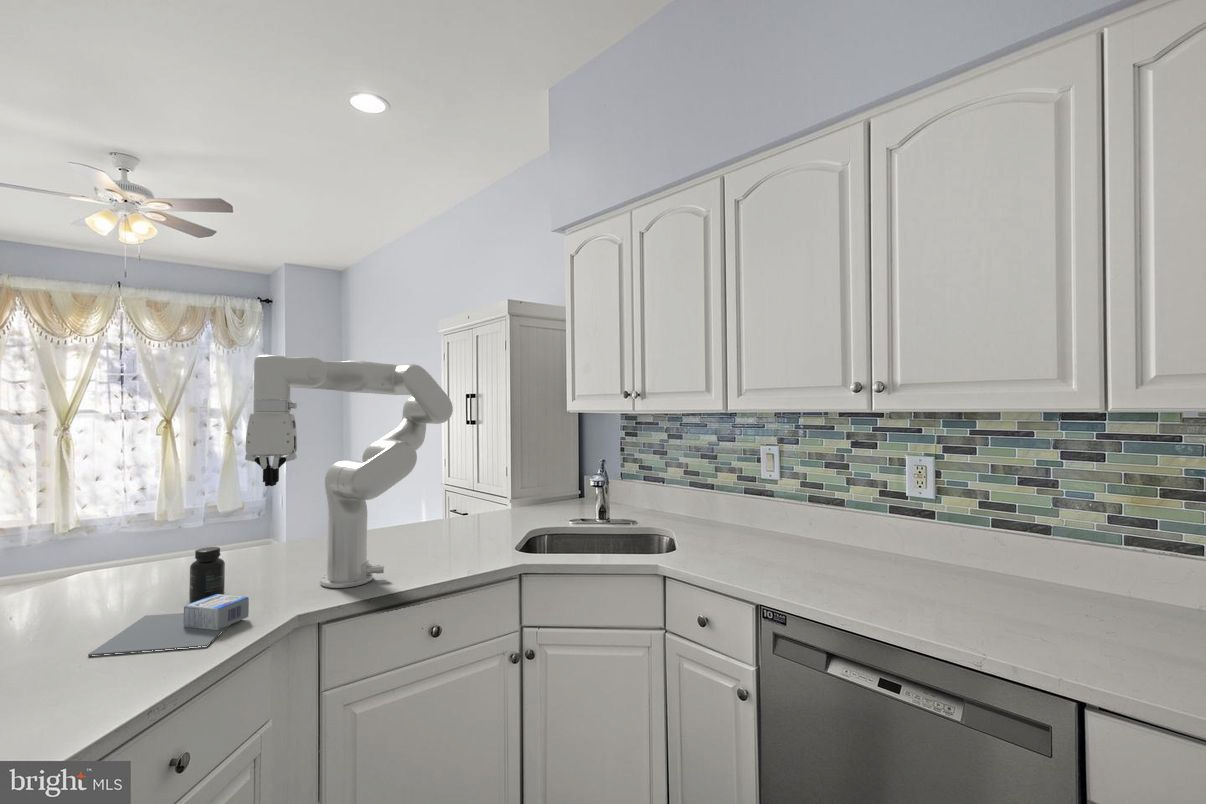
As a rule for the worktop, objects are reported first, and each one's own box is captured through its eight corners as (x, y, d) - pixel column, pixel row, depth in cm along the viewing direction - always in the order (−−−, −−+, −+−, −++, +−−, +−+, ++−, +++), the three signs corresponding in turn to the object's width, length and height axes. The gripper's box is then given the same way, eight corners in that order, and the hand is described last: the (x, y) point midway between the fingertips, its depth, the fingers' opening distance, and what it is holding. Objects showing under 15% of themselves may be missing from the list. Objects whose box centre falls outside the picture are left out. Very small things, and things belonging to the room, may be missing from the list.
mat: (244, 611, 130) (244, 609, 130) (206, 647, 110) (206, 645, 110) (145, 617, 125) (145, 615, 125) (88, 657, 106) (88, 654, 106)
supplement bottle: (185, 600, 136) (186, 549, 137) (218, 593, 142) (219, 544, 142) (194, 607, 132) (195, 554, 132) (228, 599, 137) (229, 548, 137)
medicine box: (218, 609, 117) (182, 605, 119) (217, 631, 117) (182, 626, 119) (249, 596, 125) (215, 593, 127) (249, 617, 125) (215, 613, 127)
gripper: (310, 407, 143) (309, 482, 143) (242, 407, 140) (241, 484, 139) (302, 408, 136) (301, 486, 136) (230, 407, 132) (229, 488, 132)
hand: (270, 485), depth 138 cm, fingers closed
